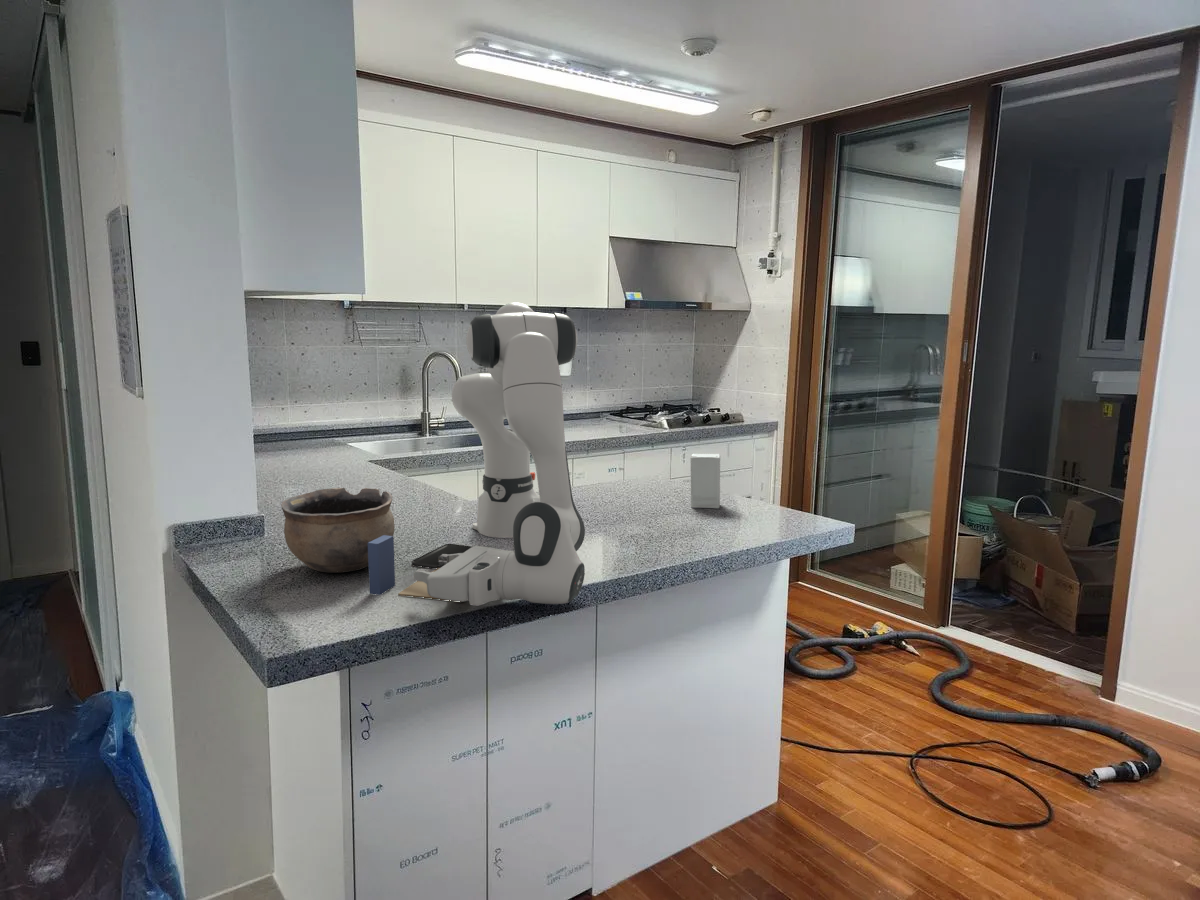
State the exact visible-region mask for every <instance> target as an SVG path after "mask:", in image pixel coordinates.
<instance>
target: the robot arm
mask: <svg viewBox="0 0 1200 900" xmlns="http://www.w3.org/2000/svg"><path fill="white" fill-rule="evenodd" d="M575 326H576V325H575V323H574V321H573V319H572V318H570V316H568V315H566V314H563V313H558V312H552V313H547V312H546V313H545V312H535V311H534V310H533V309H532V308H531V307H530V306H529V305H527V304H525V303H522V302H509V303H506V304H504V305H502V306H501V307H500V308H498V310H497V311H496V313H495V314H490V313H485V314H481V315H480V314H479V315H477V316H475V317H474V318H473V319H472V320H470V323H469V326H468V328H467V332H466V339H465V343H466V347H467V348H466V349H467V351H468V353H469V356H470V358H471V361H473V362H474V363H475V364H476V365H477V366H479V367H483V368H487V371H488V372H478V373H477V372H476V373H472V374H467V375H463V376H460V377H459V378H457V380H456V382H455V383H454V385H453V387H452V390H451V402H452V405H453V407H454V409H455V410H456V412H457V413H458V414H459V415H460V416H461V417H462V418H463V419H466V420H467V422H469V424H471V425H472V426H473V428H474V429H475V431H476V432H477V434H478V436H479V438H480V442H481V444H482V451H483V464H484V467H483V468H484V474H483V475H482V480H481V481H482V490H483V492H482V493H481V494H480V495H479V496H478V497H477V517H476V522H474V523H472V527H471V528H472V529H474V530H476V531H478V533H479V534H481V535H482V536H485V537H491V538H498V539H499V538H500V539H504V538H505V539H512V538H513V540H512V541H513V543H512V544H513V550H507V549H505V550H504V549H500V548H497V547H496V548H494V547H490V546H483V545H476V546H473V547H471V548H470V549H468V550H467V551H465V552H464V553H457V554H450V555H449V554H442V555H441V556H439V558H438V559H439V561H438V562H439V564H440V565H444V566H443V567H441V568H439V569H438V570H436V571H435V572H432V571H431V572H430V571H427V569H426V568H425V569H422V568H418V569H417V570H415V571H414V572H413V578H414V581H415V582H417V581H423V582H424V583H426V584H427V593H428V594H429V595H430V596H431V597H434V598H439V599H444V600H451V601H460V602H462V601H463V602H469V603H468V604H469V605H470V606H475V607H476V606H481V605H485V604H487V603H490V602H493V601H499V600H507V601H514V600H524V601H527V602H529V603H533V604H543V605H544V604H545V605H562V604H563V605H565V604H568V603H570V602H571V601H574V599H575V598H577V596H578V595H579V593H580V591H581V589H582V587H583V584H584V580H585V571H586V569H585V565H584V562H583V561H582V560H581V559H580V556H579V555H578V552H577V551H578V550H579V549H580V548H581V546H582V545H583V543H584V540H585V535H586V527H585V523H584V521H583V518H582V516H581V514H580V512H579V510H578V509H577V507H576V505H575V502H574V499H573V498H574V497H573V492H572V491H573V490H572V485H571V483H572V482H571V476H570V469H569V461H568V454H567V448H566V438H565V422H564V419H565V418H564V400H563V389H562V388H563V386H562V378H561V370H560V366H562V365H565V364H568V363H570V362H571V361H572V359H573V358H574V357H575V354H576V350H577V348H578V341H579V340H578V332H577V329H576V327H575ZM504 420H507V422H508V426H509V428H510V429H511V430H510V429H508V428H507V427H506V426H505V424H504V423H505V422H504ZM531 457H532V459H533V463H534V466H535V472H534V471H532V472H531ZM536 478H537V479H536ZM535 480H537V487H538V488H537V489H538V493H537V492H536V491H535V489H533V488H534V481H535ZM463 602H462V603H463Z"/></svg>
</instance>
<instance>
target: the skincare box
mask: <svg viewBox="0 0 1200 900" xmlns="http://www.w3.org/2000/svg"><path fill="white" fill-rule="evenodd" d="M720 504H721V453H692V454H691V457H690V508H691V509H692V508H697V509H720Z"/></svg>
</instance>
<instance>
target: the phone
mask: <svg viewBox="0 0 1200 900" xmlns="http://www.w3.org/2000/svg"><path fill="white" fill-rule="evenodd" d="M471 547H474V546H471V545H465V544H456V543H445V544H443V545H441V546H438V547H437V548H435V549H433V550H431V551H428V552H427V553H424V554H423V555H421V556H418V557H417V558H415V559H412V561H411V565H412V566H413V565H414V566H413V567H418V566H422V567H421V568H425V567H429V568H428V569H432V568H441V567H443V566H444V565H440V564H439V562H438V561H439V559H438V558H439V556H441V555H442V554H449V555H450V554H457V553H464V552H465V551H467V550H468V549H470V548H471Z"/></svg>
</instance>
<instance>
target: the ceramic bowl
mask: <svg viewBox="0 0 1200 900" xmlns="http://www.w3.org/2000/svg"><path fill="white" fill-rule="evenodd" d="M392 501H393V495H392V493H390V492H388V491H382V493H381V490H380V489H377V488H368V487H365V488H362V489H360V491H359V492H358V493H357V494H354V493H350V492H348V491H347V489H346V488H345V487H334V488H333V487H330V488H323V489H318V490H314V491H312V492H311V491H310V492H307V493H304V494H300V495H299V494H298V495H294V496H291V497H289V498H287V499H285V500H283V501H282V502H281V505H280V506H281V510H282V512H283V515H284V516H283V517H284V527H283V528H284V529H283V532H284V539H285V542H286V546H287V547H288V549H289V551H290V552H291V553H292V555H293V556H295V557H296V558H297V560H299V561H300V562H302V563H303V564H304V565H305V566H306V567H308V568H310V569H312V570H314V571H317V572H321V573H322V572H323V573H346V572H347V573H348V572H355V571H360V570H362V569H364V568H368V567H369V564H368V542H371V541H373V540H375V539H377V538H379V537H381V536H383V535H386V536H393V537H394V534H395V530H396V529H395V517H394V515H393V512H392V510H391V508H390V507H391V505H392Z"/></svg>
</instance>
